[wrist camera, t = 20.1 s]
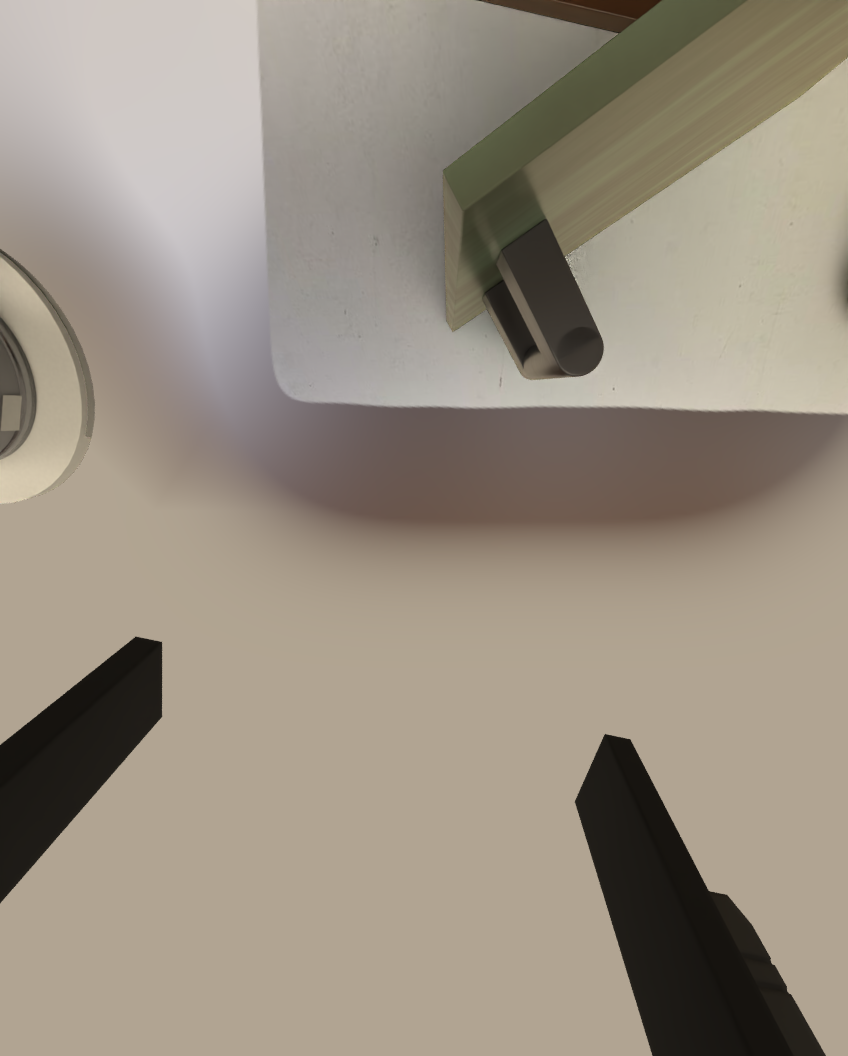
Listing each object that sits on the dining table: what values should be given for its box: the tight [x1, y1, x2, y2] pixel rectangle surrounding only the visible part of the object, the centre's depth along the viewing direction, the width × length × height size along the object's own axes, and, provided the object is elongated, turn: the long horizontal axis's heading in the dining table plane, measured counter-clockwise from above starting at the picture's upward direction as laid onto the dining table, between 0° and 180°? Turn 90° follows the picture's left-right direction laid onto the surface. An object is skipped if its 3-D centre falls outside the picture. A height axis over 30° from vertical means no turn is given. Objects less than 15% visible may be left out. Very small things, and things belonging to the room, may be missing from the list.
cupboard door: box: [443, 0, 848, 380], centre depth 20 cm, size 7×26×24 cm, turn 122°
